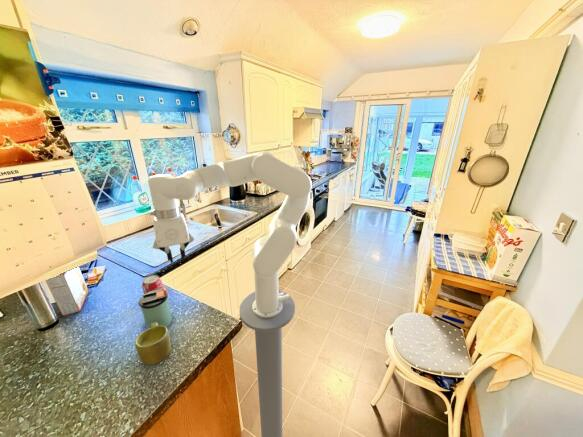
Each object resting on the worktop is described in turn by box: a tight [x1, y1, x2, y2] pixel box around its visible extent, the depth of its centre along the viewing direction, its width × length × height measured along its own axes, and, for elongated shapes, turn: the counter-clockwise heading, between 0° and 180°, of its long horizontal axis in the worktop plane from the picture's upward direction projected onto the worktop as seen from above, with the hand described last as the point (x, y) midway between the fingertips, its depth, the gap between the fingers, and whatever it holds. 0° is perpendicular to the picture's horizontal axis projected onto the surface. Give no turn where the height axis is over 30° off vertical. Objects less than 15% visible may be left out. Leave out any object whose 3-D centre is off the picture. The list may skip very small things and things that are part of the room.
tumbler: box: [138, 289, 173, 330], centre depth 87 cm, size 9×9×13 cm
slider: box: [156, 285, 168, 299], centre depth 86 cm, size 3×3×2 cm
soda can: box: [141, 274, 164, 295], centre depth 98 cm, size 7×7×12 cm
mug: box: [134, 322, 172, 366], centre depth 77 cm, size 12×10×10 cm
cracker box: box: [45, 266, 89, 317], centre depth 95 cm, size 14×6×21 cm, turn 27°
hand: (177, 259), depth 85 cm, fingers open, 3 cm apart
